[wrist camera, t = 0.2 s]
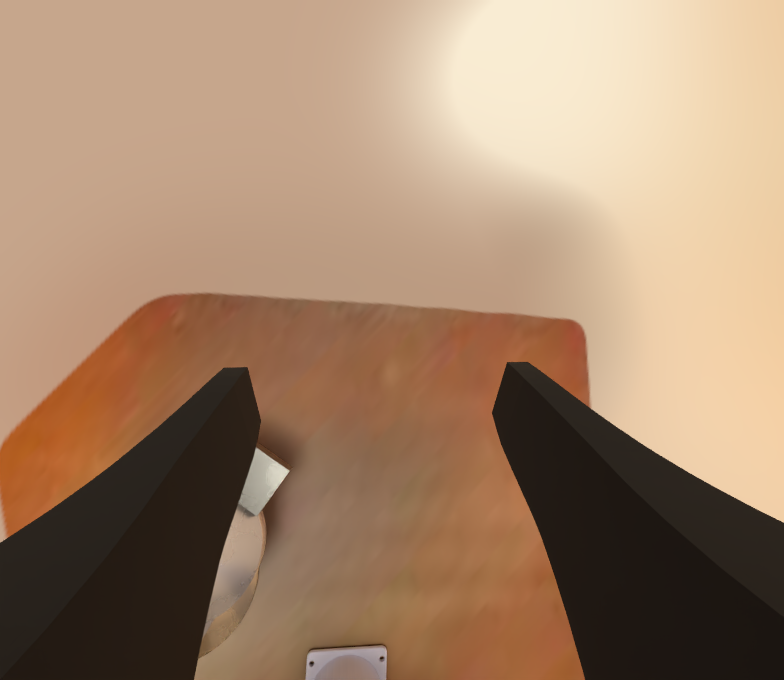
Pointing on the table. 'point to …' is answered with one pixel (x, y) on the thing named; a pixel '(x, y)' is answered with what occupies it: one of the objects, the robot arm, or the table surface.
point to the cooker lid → (247, 531)
